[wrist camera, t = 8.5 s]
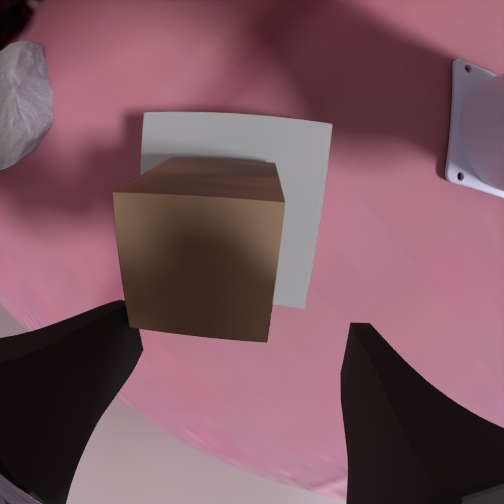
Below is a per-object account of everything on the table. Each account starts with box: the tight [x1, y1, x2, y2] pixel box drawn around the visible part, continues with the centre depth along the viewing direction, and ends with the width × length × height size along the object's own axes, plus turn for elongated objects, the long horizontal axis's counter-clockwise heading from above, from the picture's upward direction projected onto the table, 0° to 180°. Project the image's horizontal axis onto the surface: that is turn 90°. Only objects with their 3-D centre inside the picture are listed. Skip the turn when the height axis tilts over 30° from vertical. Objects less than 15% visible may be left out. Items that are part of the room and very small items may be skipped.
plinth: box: [140, 112, 332, 309], centre depth 16 cm, size 9×9×4 cm
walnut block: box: [113, 157, 285, 342], centre depth 11 cm, size 4×4×6 cm
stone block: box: [0, 41, 54, 170], centre depth 18 cm, size 12×5×10 cm
